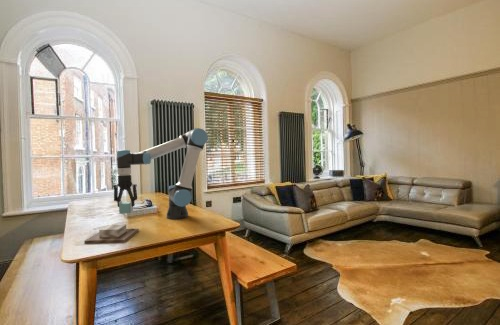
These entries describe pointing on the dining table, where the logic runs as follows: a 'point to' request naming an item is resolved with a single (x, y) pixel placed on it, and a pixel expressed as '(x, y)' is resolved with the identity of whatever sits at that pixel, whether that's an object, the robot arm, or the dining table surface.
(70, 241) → the dining table surface
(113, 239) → the base
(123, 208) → the cube
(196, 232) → the dining table surface
